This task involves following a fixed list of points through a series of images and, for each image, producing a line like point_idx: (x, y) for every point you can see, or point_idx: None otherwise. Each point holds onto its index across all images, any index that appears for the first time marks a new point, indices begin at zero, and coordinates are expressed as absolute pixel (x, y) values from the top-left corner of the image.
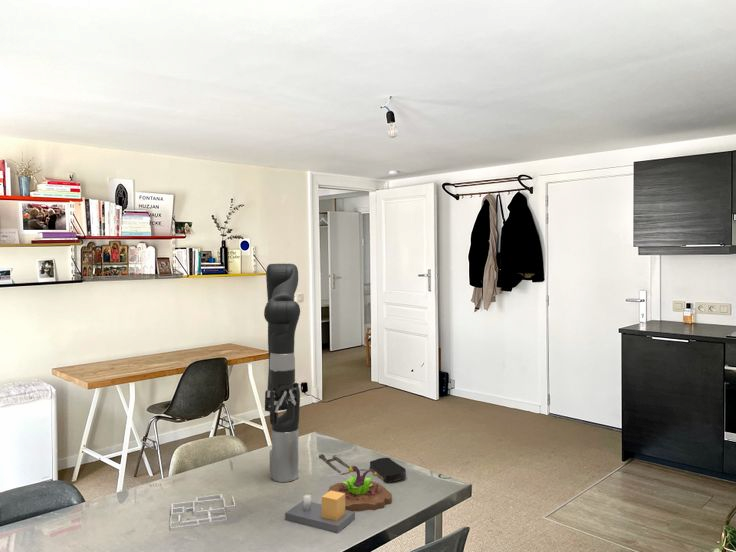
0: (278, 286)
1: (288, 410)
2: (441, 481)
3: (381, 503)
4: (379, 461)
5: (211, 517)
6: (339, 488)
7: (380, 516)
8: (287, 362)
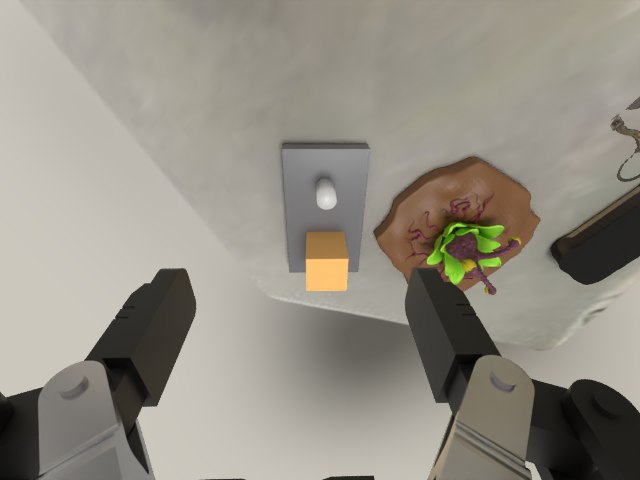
0: None
1: (430, 321)
2: (566, 320)
3: None
4: None
5: None
6: (460, 199)
7: (382, 292)
8: None
